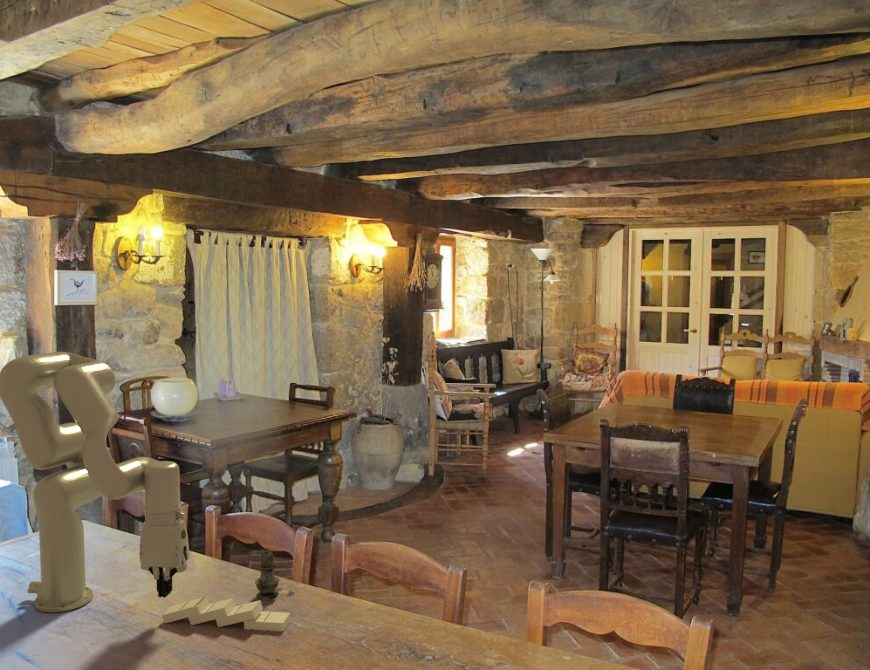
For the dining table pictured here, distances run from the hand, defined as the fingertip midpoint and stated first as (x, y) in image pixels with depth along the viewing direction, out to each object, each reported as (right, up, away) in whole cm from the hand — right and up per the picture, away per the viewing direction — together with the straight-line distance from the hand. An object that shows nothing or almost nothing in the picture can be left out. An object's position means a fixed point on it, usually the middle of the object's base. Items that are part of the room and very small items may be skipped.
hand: (164, 594), depth 170 cm
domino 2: (+7, -5, 0) cm, 9 cm away
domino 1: (+1, -5, 0) cm, 5 cm away
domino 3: (+13, -5, -1) cm, 14 cm away
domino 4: (+20, -5, -2) cm, 20 cm away
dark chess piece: (+21, -5, +13) cm, 25 cm away
